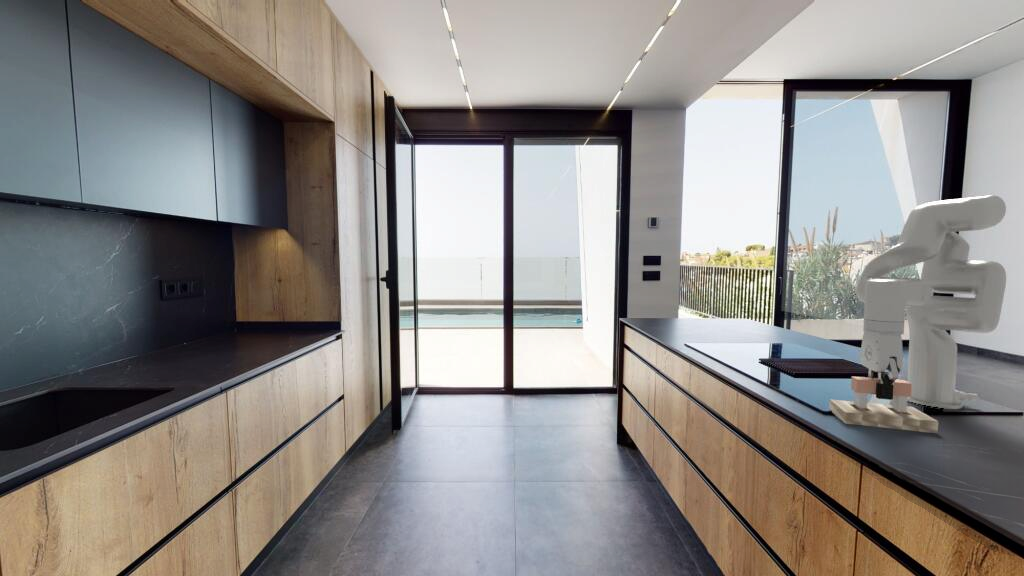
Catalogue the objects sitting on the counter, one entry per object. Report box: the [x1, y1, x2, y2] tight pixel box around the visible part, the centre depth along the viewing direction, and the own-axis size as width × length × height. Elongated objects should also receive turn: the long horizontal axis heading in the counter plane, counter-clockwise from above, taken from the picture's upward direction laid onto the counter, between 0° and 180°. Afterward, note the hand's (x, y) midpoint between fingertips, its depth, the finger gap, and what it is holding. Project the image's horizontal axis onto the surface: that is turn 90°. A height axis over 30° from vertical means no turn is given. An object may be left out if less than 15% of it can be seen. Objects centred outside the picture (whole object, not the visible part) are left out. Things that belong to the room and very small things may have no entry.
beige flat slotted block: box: [828, 398, 939, 434], centre depth 100 cm, size 18×10×3 cm, turn 69°
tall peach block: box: [850, 375, 912, 412], centre depth 100 cm, size 11×3×8 cm, turn 69°
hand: (880, 395), depth 100 cm, fingers closed on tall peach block, 3 cm apart
